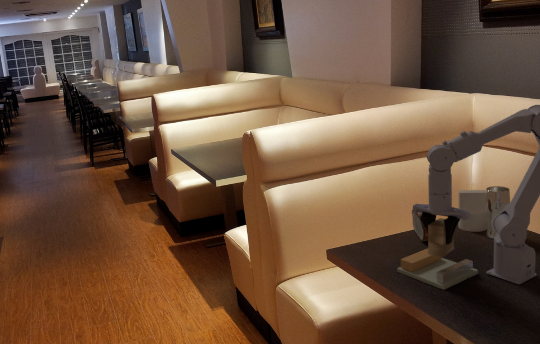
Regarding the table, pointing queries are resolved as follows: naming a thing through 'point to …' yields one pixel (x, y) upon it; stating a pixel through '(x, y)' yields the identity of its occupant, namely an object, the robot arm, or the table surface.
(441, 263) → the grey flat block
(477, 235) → the table surface
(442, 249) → the maple block
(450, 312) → the table surface
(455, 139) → the robot arm
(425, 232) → the tin
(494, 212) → the beer glass
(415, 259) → the block
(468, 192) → the white upright cylinder
